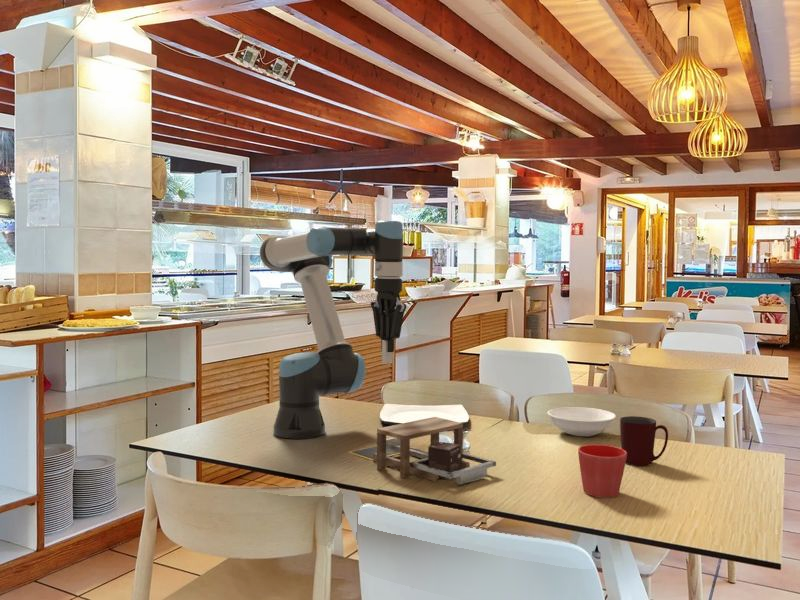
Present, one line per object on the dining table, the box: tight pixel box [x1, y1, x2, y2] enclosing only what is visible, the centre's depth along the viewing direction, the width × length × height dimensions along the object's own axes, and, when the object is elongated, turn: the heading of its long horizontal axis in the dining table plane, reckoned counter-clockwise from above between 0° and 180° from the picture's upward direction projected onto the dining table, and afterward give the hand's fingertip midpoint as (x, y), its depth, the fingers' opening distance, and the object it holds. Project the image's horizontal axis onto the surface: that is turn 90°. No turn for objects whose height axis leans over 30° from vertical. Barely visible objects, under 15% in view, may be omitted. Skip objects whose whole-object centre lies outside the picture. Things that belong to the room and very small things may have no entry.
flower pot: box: [577, 444, 627, 499], centre depth 170 cm, size 11×11×10 cm
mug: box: [619, 415, 669, 467], centre depth 194 cm, size 12×9×11 cm
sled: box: [386, 437, 497, 486], centre depth 188 cm, size 29×16×5 cm, turn 43°
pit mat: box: [347, 445, 400, 462], centre depth 202 cm, size 10×12×1 cm
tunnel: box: [373, 417, 471, 482], centre depth 190 cm, size 22×20×10 cm
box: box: [427, 441, 461, 480], centre depth 183 cm, size 6×6×7 cm
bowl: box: [547, 406, 617, 437], centre depth 225 cm, size 20×20×6 cm
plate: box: [379, 403, 470, 426], centre depth 243 cm, size 29×29×3 cm
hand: (387, 363), depth 208 cm, fingers closed
